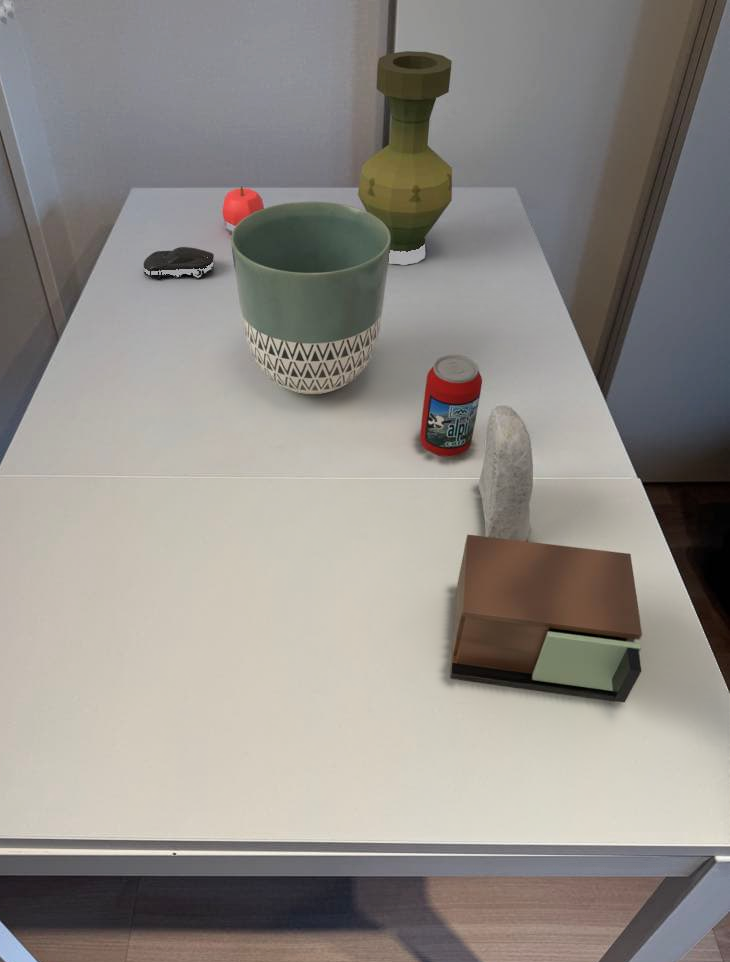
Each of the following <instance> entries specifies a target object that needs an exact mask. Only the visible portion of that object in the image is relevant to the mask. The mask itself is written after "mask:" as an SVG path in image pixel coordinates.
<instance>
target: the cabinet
mask: <svg viewBox="0 0 730 962" xmlns="http://www.w3.org/2000/svg"><path fill="white" fill-rule="evenodd" d="M634 575H635V574H634V568H633V561H632V555H631V553H629V552H628V553H626V552H619V551H609V550H602V549H595V548H586V547H585V548H584V547H577V546H569V545H560V544H551V543H544V542H534V541H527V540H526V541H518V540H510V539H501V538H493V537H485V536H484V535H477V534H476V535H474V534H466V539H465V543H464V549H463V554H462V558H461V563H460V569H459V574H458V578H457V583H456V584H457V585H456V590H455V602H454V615H453V631H452V633H453V634H452V647H451V662H450V663H451V665H450V679H452V680H453V679H454V680H459V681H466V682H474V683H481V684H487V685H488V684H489V685H496V686H503V687H509V688H516V689H517V688H518V689H523V690H524V689H525V690H532V691H539V692H545V693H552V694H559V695H567V696H573V697H580V698H588V699H594V700H595V699H596V700H603V701H610V702H615V701H614V697H613V691H609V690H602V689H595V688H588V687H580V686H573V685H566V684H559V683H551V682H544V681H537V680H533V679H532V675H533V672H534V669H535V666H536V663H537V661H538V658H539V655H540V652H541V649H542V647H543V644H544V641H545V638H546V635H547V632H548V631H550V632H557V633H565V634H572V635H580V636H588V637H595V638H603V639H611V640H618V641H626V642H633V643H635V641H636V640H637V641H639V640H641V638H642V636H643V632H642V623H641V617H640V610H639V604H638V597H637V591H636V590H637V589H636V583H635V576H634Z"/></svg>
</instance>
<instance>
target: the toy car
mask: <svg viewBox="0 0 730 962" xmlns="http://www.w3.org/2000/svg"><path fill="white" fill-rule="evenodd" d="M207 257H208V258H207ZM214 257H215V255H214V253H213V252H211V251H208V250H203V249H200V248H196V247H191V246H179V247H176V248H173V250H158V251H157V250H156V251H154V252H152V253H151V254H150V255H148V256H147V257H146V258H145V259H144V261H143V269H144V268H145V269H147V270H148V271H150V275H148V274H146V272H144V271H143V274H144V275H145V276H148V277H151V278H152V279H153V280H159V279H161V278H162V277H173V278H175V277H176V278H175V279H179V278H178V277H177V276H176V275H175V277H174V276H173V275H172V276H170V274H166V275H165V274H164V275H162V272H161V275H159V272H158V275H151V271H159V270H160V271H161V270H176V269H178V270H179V269H193V268H194V269H199V268H200V269H203V268H204V269H205V268H207V267H206V266H208V265H210V264H211V263H212V262H213V260H214ZM197 276H198V275H197ZM201 276H202V275H201ZM179 277H180V275H179ZM202 277H203V276H202ZM180 278H181V277H180ZM196 279H198V278H196Z"/></svg>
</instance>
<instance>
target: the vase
mask: <svg viewBox="0 0 730 962" xmlns="http://www.w3.org/2000/svg"><path fill="white" fill-rule="evenodd" d="M452 62H453V61H452V60H451V59H449V58H448V57H446V56H444V55H442V54H437V53H432V52H428V51H412V50H405V51H398V52H391V53H388V54H385V55H383V56H380V57H378V62H377V67H376V68H377V69H376V90H377V91H379V92H380V93H381V94H383V95H384V96H387V99H388V100H387V101H388V104H389V109H390V110H389V111H390V116H391V117H390V118H391V119H390V131H389V132H390V134H389V144H388V145H386V146H385V147H383V148H382V149H381V150H379V151H378V152H377V153H375V154H374V155H372V156H371V157H370V158H368V159H367V160H365V161H364V162H363V163H362V167H361V171H360V176H359V183H358V190H357V196H358V198H359V200H360V202H361V204H362V205H363V207H364V209H365V211H366V212H368V213H370V214H372V215H374V216H376V217H377V218H379V219H380V220H381V221H382V222H383V223H384V224H385V225H386V226H387V228H388V230H389V232H390V236H391V243H390V250H393V251H400V252H401V251H406V252H408V251H411V250H416V249H419V248H420V247H421V246H423V245H424V244H425V242H426V237H427V236H428V234H429V232H430V231H431V230H432V229H433V227H434V226H435V224H436V223H437V221H438V220H439V218H440V217H441V216H442V215H443V213H444V212H445V210H446V209H447V208H448V206H449V205H450V204H451V202H452V201H453V199H452V198H453V167H451V166H450V164H448V163H447V162H446V161H445V160H444V159H443V158H442V157H441V156H440V155H439V154H438V153H437V152H435V151H434V150H433V148H431V147H430V146H429V145H428V144H429V134H430V133H429V132H430V119H431V116H432V113H433V110H434V107H435V103H436V101H437V98H440V97H442V96H444V95H446V94H448V93H449V92H450V83H451V82H450V81H451V74H452V65H453V64H452Z"/></svg>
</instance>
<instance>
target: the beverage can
mask: <svg viewBox="0 0 730 962" xmlns="http://www.w3.org/2000/svg"><path fill="white" fill-rule="evenodd" d="M482 386H483V378H482V375H481V373H480V371H479V365H478V364H477V362H476V361H475V360H473V359H472V358H470V357H468V356H465V355H461V354H447V355H446V354H445V355H443V356H441V357H439V358H437V359H436V360H435V362H434V364H433V366H432V367H431V368H430V369H429V371H428V372H427V374H426V379H425V389H424V396H423V406H422V413H421V421H420V422H421V425H420V433H419V441H420V444H421V445H422V447H423V448H424V449H425V450H426V451H427V452H429V453H431V454H433V455H436V456H440V457H447V458H448V457H449V458H450V457H456V456H460V455H462V454H464V453H466V452H467V451H468V450H469V449H470V447H471V445H472V442H473V441H472V440H473V438H474V437H473V436H474V432H475V426H476V420H477V415H478V409H479V403H480V398H481V393H482V392H481V391H482Z"/></svg>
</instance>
